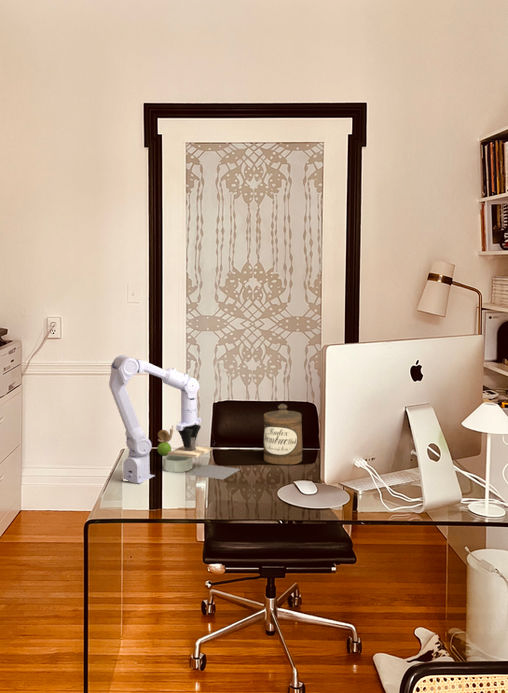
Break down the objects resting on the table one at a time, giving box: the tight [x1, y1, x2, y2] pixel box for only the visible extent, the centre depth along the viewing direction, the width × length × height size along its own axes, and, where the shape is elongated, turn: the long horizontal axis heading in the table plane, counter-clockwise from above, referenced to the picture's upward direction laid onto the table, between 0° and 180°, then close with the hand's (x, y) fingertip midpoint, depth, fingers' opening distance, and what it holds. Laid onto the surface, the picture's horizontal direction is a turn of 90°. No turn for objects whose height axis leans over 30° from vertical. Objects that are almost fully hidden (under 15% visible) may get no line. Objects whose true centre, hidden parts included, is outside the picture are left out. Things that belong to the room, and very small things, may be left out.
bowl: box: [162, 455, 193, 473], centre depth 263 cm, size 10×10×5 cm
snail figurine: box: [157, 425, 174, 457], centre depth 282 cm, size 5×6×12 cm
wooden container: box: [263, 403, 303, 466], centre depth 274 cm, size 15×15×22 cm
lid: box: [168, 437, 214, 458], centre depth 260 cm, size 12×12×5 cm
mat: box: [188, 464, 241, 481], centre depth 258 cm, size 14×14×1 cm
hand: (189, 446), depth 260 cm, fingers closed on lid, 3 cm apart
